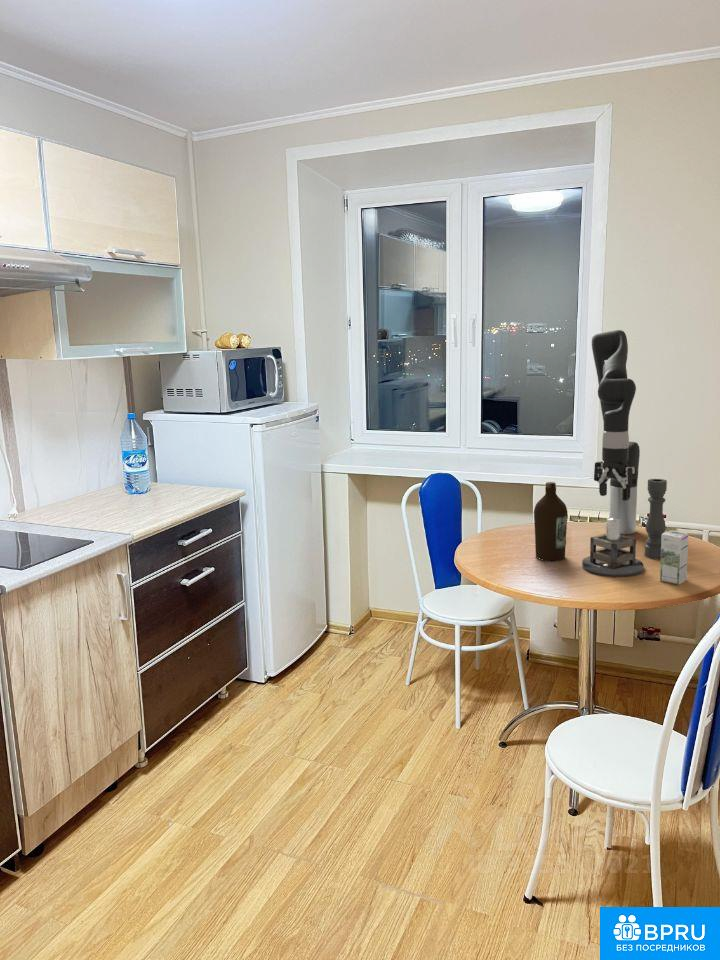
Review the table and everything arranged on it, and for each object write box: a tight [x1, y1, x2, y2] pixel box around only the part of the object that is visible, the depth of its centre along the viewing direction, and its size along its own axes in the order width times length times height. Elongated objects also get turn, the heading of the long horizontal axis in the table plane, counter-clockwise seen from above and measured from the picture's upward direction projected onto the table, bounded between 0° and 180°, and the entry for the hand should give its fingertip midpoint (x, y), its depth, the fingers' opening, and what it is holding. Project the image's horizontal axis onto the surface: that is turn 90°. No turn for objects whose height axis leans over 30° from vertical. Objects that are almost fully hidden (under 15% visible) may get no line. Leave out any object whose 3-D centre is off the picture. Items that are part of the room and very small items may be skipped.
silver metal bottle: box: [605, 517, 621, 564], centre depth 221 cm, size 4×4×14 cm
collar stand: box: [581, 533, 644, 578], centre depth 222 cm, size 18×18×10 cm
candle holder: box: [644, 478, 668, 560], centre depth 230 cm, size 6×6×25 cm
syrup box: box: [659, 529, 689, 586], centre depth 208 cm, size 6×6×14 cm
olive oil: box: [533, 481, 568, 562], centre depth 234 cm, size 11×11×25 cm
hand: (614, 497), depth 219 cm, fingers open, 8 cm apart
